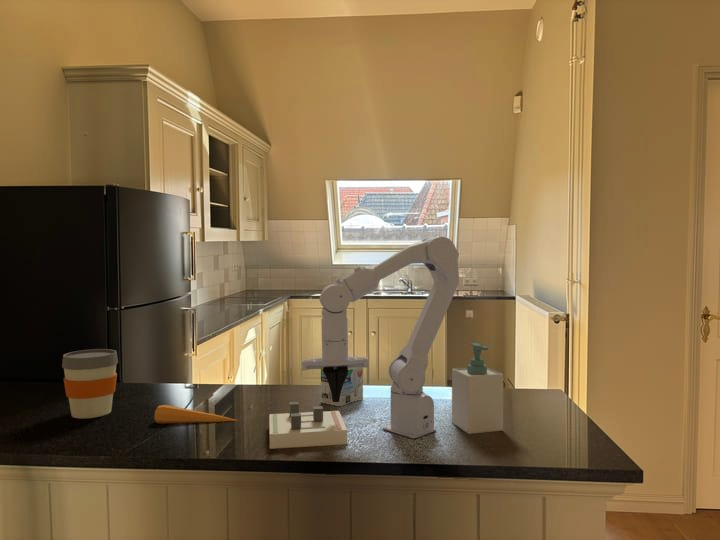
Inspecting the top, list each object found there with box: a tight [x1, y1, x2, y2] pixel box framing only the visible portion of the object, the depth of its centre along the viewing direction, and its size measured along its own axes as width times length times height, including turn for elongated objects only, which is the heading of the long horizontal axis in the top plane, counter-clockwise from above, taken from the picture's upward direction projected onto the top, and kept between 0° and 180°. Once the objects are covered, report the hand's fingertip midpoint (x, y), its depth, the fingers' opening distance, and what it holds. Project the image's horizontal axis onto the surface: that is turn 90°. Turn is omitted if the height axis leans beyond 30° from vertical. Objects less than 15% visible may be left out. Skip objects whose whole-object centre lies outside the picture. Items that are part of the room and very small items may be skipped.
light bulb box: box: [320, 367, 364, 407], centre depth 149 cm, size 11×7×11 cm, turn 143°
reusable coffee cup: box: [61, 348, 119, 419], centre depth 138 cm, size 13×13×15 cm
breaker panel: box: [268, 401, 348, 450], centre depth 121 cm, size 16×14×6 cm
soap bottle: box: [451, 342, 504, 435], centre depth 127 cm, size 9×9×19 cm
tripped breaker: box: [312, 405, 324, 421], centre depth 122 cm, size 2×2×3 cm
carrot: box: [153, 404, 239, 425], centre depth 132 cm, size 20×4×4 cm, turn 93°
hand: (335, 400), depth 122 cm, fingers closed
